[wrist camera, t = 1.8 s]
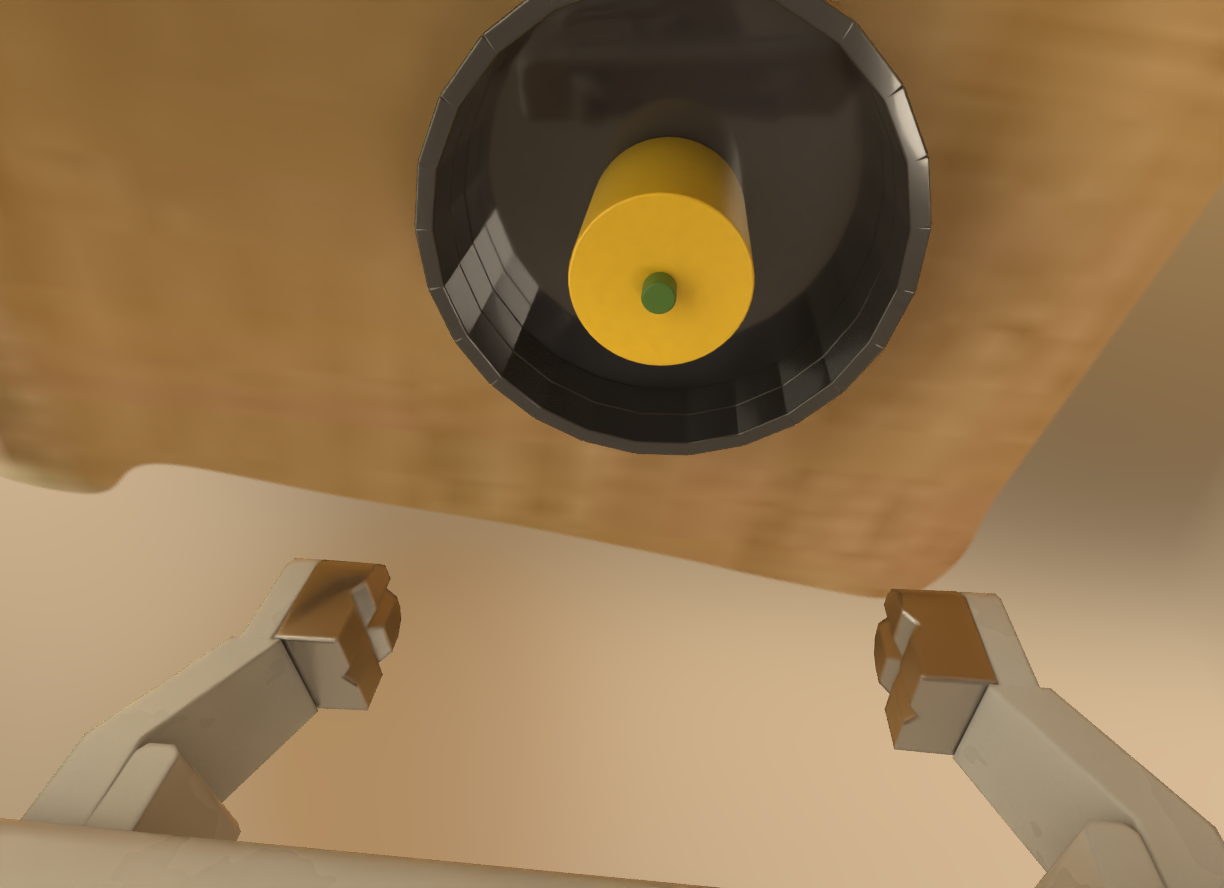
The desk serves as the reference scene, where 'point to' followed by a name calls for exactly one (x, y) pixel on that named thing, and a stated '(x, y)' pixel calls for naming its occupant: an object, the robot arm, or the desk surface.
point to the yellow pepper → (663, 254)
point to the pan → (740, 134)
